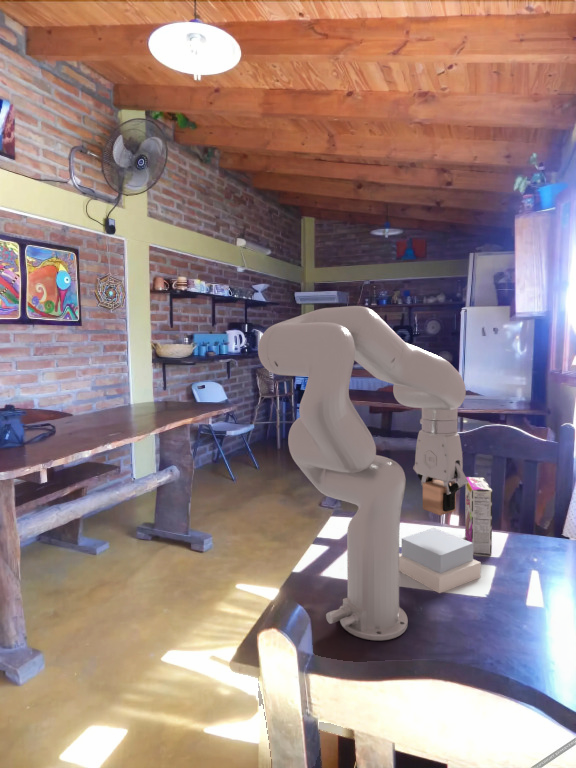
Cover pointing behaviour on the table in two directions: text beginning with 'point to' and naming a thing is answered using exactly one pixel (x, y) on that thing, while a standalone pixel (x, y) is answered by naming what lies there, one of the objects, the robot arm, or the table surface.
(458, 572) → the tower base
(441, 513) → the terracotta block
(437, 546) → the tower top
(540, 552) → the table surface
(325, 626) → the table surface
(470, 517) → the candy bar box
